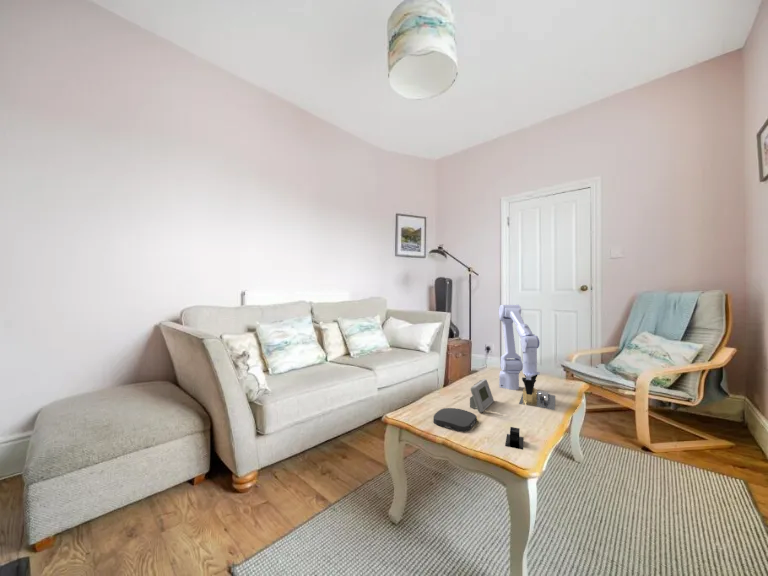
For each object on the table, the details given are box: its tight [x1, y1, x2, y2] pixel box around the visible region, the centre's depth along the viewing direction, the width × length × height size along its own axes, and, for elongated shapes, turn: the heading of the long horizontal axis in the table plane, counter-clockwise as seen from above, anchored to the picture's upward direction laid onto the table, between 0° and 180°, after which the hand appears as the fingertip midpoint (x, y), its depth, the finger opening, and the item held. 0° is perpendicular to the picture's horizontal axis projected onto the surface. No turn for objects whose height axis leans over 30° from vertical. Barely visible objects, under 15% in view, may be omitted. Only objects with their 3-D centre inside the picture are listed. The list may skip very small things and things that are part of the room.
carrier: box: [518, 387, 556, 411], centre depth 142 cm, size 14×20×4 cm
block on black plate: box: [504, 426, 525, 451], centre depth 105 cm, size 12×7×5 cm, turn 154°
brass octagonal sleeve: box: [522, 388, 538, 404], centre depth 140 cm, size 6×6×5 cm
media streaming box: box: [433, 407, 478, 433], centre depth 120 cm, size 15×15×3 cm
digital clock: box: [469, 378, 495, 413], centre depth 136 cm, size 16×9×11 cm, turn 132°
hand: (529, 391), depth 139 cm, fingers open, 7 cm apart
